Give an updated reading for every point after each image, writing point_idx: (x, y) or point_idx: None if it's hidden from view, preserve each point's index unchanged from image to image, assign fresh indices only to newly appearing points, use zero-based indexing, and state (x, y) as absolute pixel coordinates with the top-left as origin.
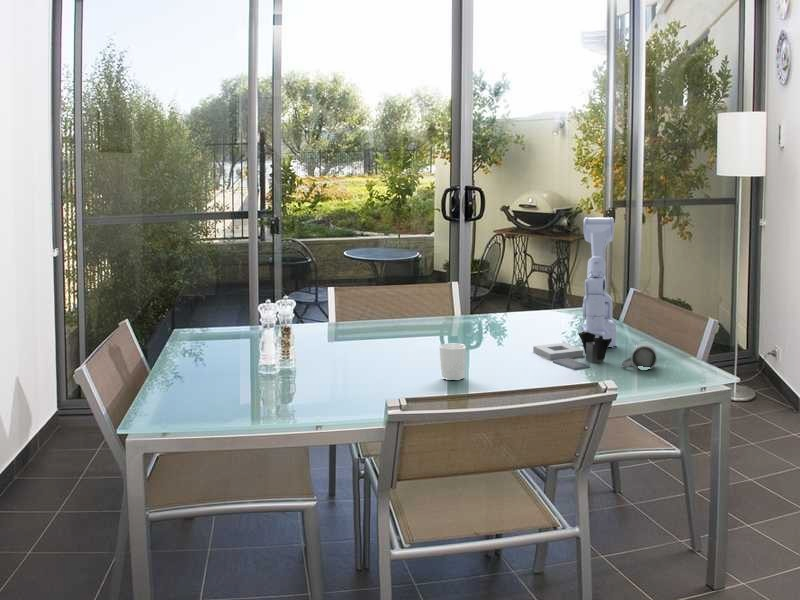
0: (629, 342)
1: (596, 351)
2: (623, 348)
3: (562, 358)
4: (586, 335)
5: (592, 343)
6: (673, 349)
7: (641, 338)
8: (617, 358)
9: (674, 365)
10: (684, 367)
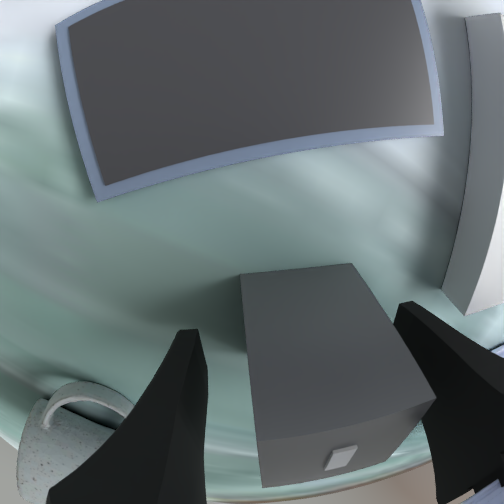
0: None
1: (180, 387)
2: None
3: (472, 119)
4: (491, 446)
5: (334, 445)
6: (305, 492)
7: (430, 453)
8: None
9: None
10: None
